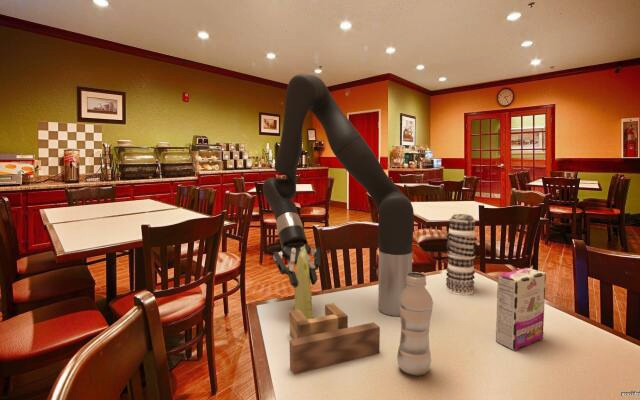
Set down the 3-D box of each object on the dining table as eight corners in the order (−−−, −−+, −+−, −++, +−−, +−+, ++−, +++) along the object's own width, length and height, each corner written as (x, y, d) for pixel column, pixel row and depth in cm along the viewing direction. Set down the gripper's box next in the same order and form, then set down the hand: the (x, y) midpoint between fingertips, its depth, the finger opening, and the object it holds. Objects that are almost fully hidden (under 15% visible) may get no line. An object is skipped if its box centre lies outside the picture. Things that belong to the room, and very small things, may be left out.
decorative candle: (439, 286, 116) (441, 213, 113) (462, 284, 118) (465, 212, 115) (455, 297, 107) (458, 218, 104) (481, 294, 109) (484, 216, 107)
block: (333, 325, 89) (333, 303, 89) (347, 339, 82) (347, 315, 81) (289, 334, 85) (289, 311, 84) (300, 350, 77) (299, 325, 77)
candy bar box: (522, 330, 86) (526, 266, 84) (543, 339, 81) (547, 272, 80) (493, 341, 81) (496, 274, 79) (514, 352, 76) (518, 280, 74)
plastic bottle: (392, 362, 73) (394, 270, 71) (423, 360, 73) (426, 269, 71) (402, 381, 66) (404, 281, 64) (436, 379, 67) (439, 279, 65)
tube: (317, 319, 93) (315, 249, 90) (301, 324, 90) (299, 252, 87) (306, 312, 97) (304, 244, 95) (290, 316, 94) (288, 247, 92)
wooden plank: (373, 347, 79) (373, 322, 78) (379, 352, 76) (379, 327, 76) (290, 367, 71) (289, 339, 71) (293, 374, 69) (293, 345, 68)
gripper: (268, 226, 95) (281, 282, 85) (316, 222, 100) (334, 274, 91) (265, 240, 101) (276, 295, 91) (310, 236, 106) (326, 287, 96)
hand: (305, 284), depth 91 cm, fingers closed on tube, 4 cm apart
